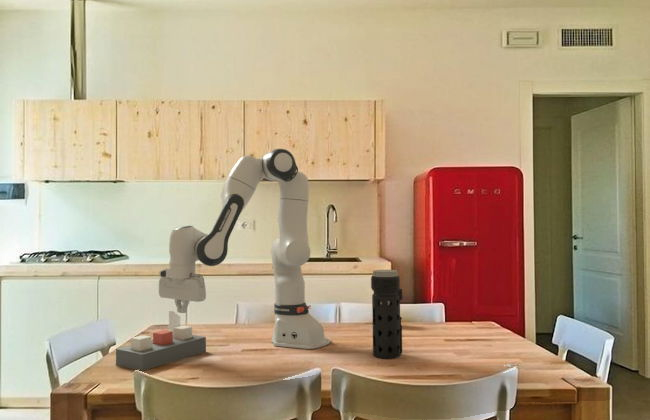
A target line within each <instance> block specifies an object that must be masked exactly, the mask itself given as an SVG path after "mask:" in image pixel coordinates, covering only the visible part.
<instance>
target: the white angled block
mask: <svg viewBox="0 0 650 420" xmlns="http://www.w3.org/2000/svg"><path fill="white" fill-rule="evenodd" d="M179 326H181V316H180V315H178V314H177V312H175V311H174V310H171V311H168V331H172V332H173V328H175V327H179Z"/></svg>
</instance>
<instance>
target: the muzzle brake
mask: <svg viewBox="0 0 650 420" xmlns="http://www.w3.org/2000/svg"><path fill="white" fill-rule="evenodd" d="M398 272H399V271H398V270H396V269H375V270H373V271H372V275H371V278H370V289H371V291H372V292H373V293H372V295H371V299H372V300H371V302H372V303H371V308H372V310H371V311H372V356H373V357H374V358H377V359H381V360H392V359H393V360H394V359H396V358H397V359H398V358H400V356H401V355H402V353H403V326H402V319H403V318H402V317H401V301H402V300H403V289H402V288H401V286H400V285H401V284H400V281H401V278H400V275H398V274H399V273H398Z"/></svg>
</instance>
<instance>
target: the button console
mask: <svg viewBox="0 0 650 420" xmlns="http://www.w3.org/2000/svg"><path fill="white" fill-rule="evenodd" d="M151 343H152V348H150V349H146V350H143V351H136V350H131V344H130V345H126V346H122V347H118V348H115V365H116V366H119V367H122V368H123V367H124V368H128V369H132V370H136V369H140V370H142V371H141V372H143V371H147V370H150V369H154V368H157V367H160V366H165V365H167V364H170V363H174V362H177V361H179V360H183V359H186V358H189V357H192V356H196V355H198V354H202V353H205V352H206V351H207V337H206V336H204V335H203V336H202V335H197V334H192V337H191V338H188V339H184V340H180V339H174V338H173V343H169V344H165V345H157V344H153V339H151ZM140 370H139V371H140Z"/></svg>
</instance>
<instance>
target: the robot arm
mask: <svg viewBox="0 0 650 420" xmlns="http://www.w3.org/2000/svg"><path fill="white" fill-rule="evenodd" d="M262 180H263V181H267V182H275V181H277V184H278V186H279V191H280V192H279V198H278V199H279V200H278V209H277V210H278V211H277V213H278V214H277V223H278V229H279V230H278V231H279V233H278V234H279V237H278V238H276V240H274V241H273V242H272V244H271V245H270V254H271V255H270V256H271V262H272V263H271V264H272V269H273V277H274V284H275V285H274V286H275V287H274V292H275V293H274V294H275V296H274V298H275V299H274V301H275V302H274V305H273V310H274V311H273V313H274V326H273V333H272V338H271V340H270V341H271V343H273V344H272V345H273V346H275V347H284V348H295V349H306V350H313V349H318V348H319V349H320V348H322V347H325V346H326V345H327V346H328V345H329V344H330V343H331V342H332V341H331V338H329V337H326V336H325V329H324V326H323V324H321V322H319V320H317V319H316V318H315V317H314V316H313V315H311V314H310V312H309V310H310V309H311V305H308V304H307V303H306V302H305V301H306V298H305V296H306V295H305V293H306V292H305V284H306V283H305V279H304V276H303V271H302V266H303V265H305V264H306V263H307V262H308V261H309V259H310V257H311V249H310V246H309V245H310V244H309V231H308V209H309V196H310V195H309V193H310V192H309V181H308V177H307V175H306V173H304V172H301V171H299V167H298V165H297V163H296V159H295V157H294V155H293V154H292V153H291V151H289V150H287V149H285V148H276V149H273V150H270V151H268V152H267V153H266V154H264V155H262V156H260V157H259V158H257V157H255V156H252V155H242V157H240V158H239V159H238V161H237V162H236V163H235V164H234V166H233V167H232V169H231V170H230V172H229V173H228V176H227V178H226V179H225V182H224V184H223V187H222V190H221V193H220V198H221V210H220V211H219V215H218V217H217V219H216V220H215V223H214V225H213V227H212V228H211V231H210V232H209V233H205V232H204V231H203V232H202V231H201V230H199V229H197V228H195V226H193V225H184V226H179V227H176V228H175V227H174V229H172V231H171V233H170V235H169V236H170V237H169V245H168V246H169V247H168V252H169V255H170V257H169V258H170V259H169V263H168V267H167V268H164V269H162V270H159V272H158V277H160V278H159V280H158V296H159V297H160V298H161V299H171V300H174V304H175V307H176V313H181V314H186V313H187V311H188V306H189V304H190V302H194V303H195V302H196V303H200V302H203V301H205V300H206V298H207V290H206V284H205V283H206V282H205V278H204V277H203V275H202V274H201V273H196V262H197V261H199V262H200V263H202V264H203V265H205V266H209V267H215V266H218V265H220V264H222V263H223V262H224V261H225V259H226V257H227V255H228V249H229V248H228V247H229V246H228V245H229V239H230V236H231V234H232V233H233V231H234V228H235V226H236V224H237V221H238V218H239V217H240V215H241V213H242V212H243V210H244V209H245V208H246V207H247V205H248V203H249V202H250V200H251V199H252V197H253V196H254V194H255V192H256V190H257V187H258V185H259V184H260V182H261V181H262Z"/></svg>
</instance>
